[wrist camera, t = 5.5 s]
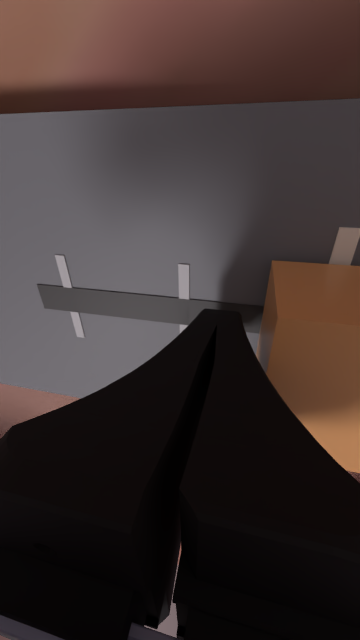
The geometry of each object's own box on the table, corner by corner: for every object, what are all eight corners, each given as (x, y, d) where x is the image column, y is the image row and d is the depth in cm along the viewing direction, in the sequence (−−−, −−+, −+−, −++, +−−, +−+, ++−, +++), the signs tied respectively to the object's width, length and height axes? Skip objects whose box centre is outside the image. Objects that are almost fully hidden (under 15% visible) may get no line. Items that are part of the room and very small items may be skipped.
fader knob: (417, 270, 8) (499, 340, 5) (359, 391, 11) (393, 480, 8) (272, 260, 9) (277, 317, 6) (252, 375, 12) (249, 450, 9)
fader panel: (669, 89, 6) (749, 81, 5) (415, 438, 13) (428, 464, 12) (-111, 121, 11) (-149, 120, 10) (7, 368, 18) (-8, 382, 17)
